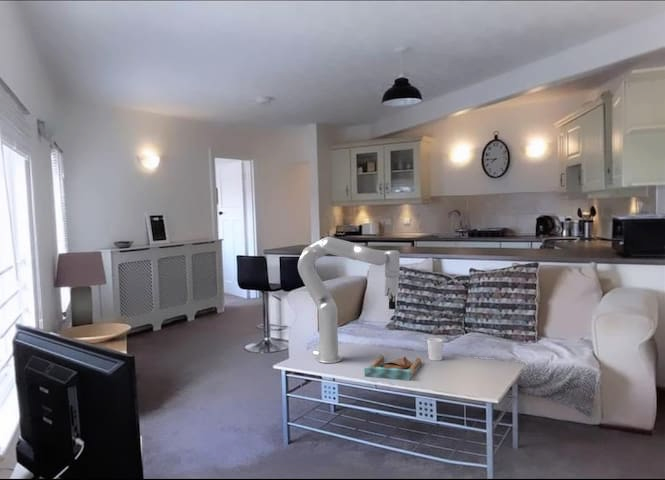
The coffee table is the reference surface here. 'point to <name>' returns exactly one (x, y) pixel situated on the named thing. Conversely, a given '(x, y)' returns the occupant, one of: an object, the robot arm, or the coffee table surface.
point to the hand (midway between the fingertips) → (392, 308)
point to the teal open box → (390, 370)
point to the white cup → (435, 348)
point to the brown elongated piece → (398, 364)
